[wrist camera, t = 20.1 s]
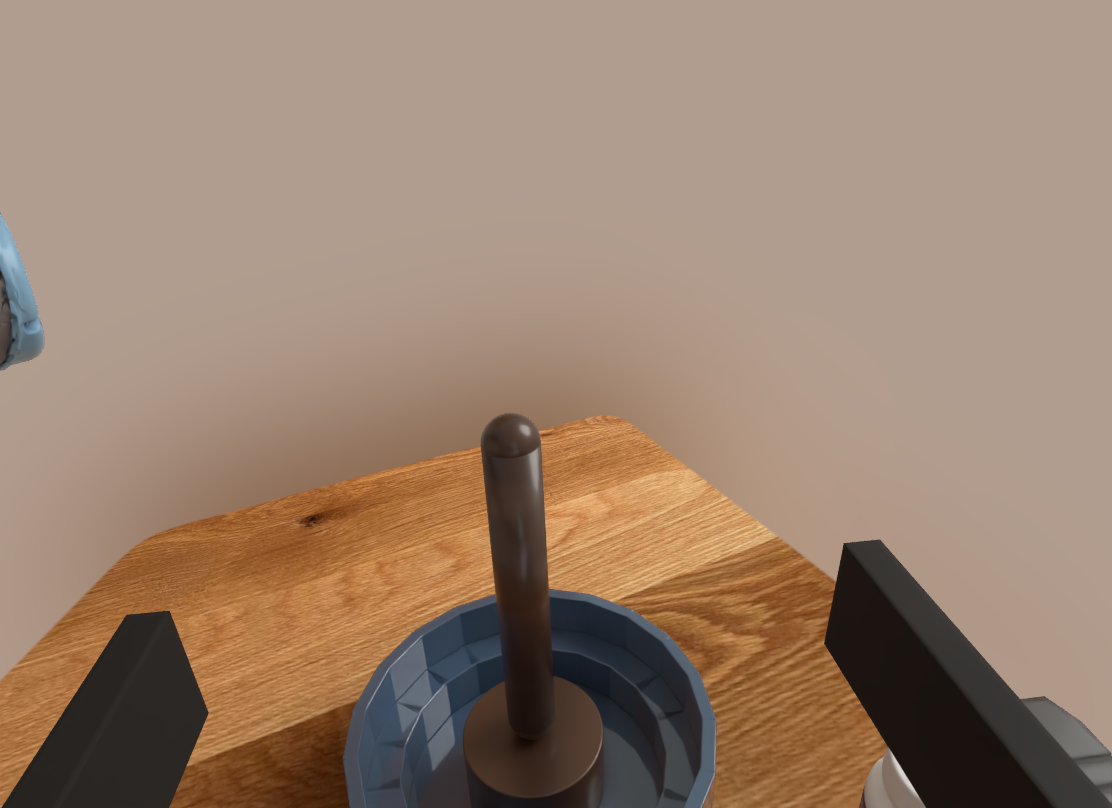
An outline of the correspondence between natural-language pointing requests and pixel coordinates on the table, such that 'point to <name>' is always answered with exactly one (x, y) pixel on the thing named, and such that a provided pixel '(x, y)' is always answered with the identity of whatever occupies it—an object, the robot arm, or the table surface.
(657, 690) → the bowl
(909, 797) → the pill bottle
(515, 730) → the joystick lever
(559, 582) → the table surface
